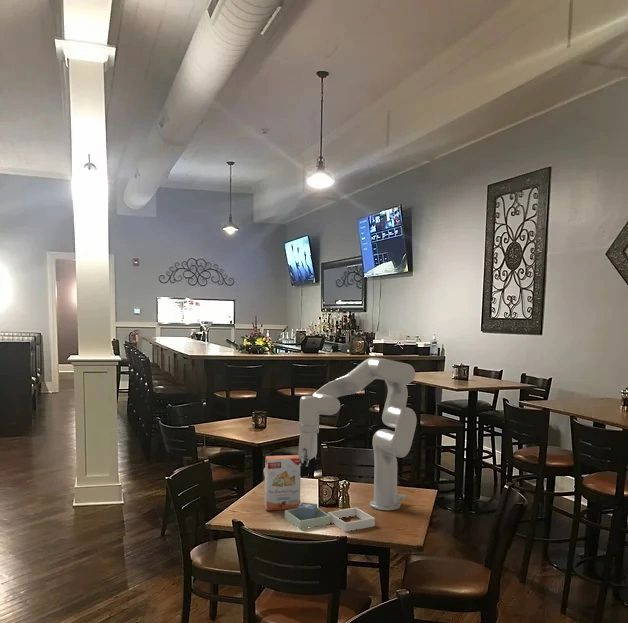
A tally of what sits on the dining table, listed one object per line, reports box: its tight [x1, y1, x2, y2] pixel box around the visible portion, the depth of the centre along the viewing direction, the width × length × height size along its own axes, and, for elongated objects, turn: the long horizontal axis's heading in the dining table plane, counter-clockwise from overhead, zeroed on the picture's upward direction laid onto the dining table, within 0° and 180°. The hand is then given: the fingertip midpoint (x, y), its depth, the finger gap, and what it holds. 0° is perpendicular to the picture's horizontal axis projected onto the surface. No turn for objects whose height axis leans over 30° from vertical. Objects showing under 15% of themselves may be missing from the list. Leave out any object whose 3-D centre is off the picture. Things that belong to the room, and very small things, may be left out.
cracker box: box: [263, 454, 302, 512], centre depth 226 cm, size 14×6×21 cm, turn 105°
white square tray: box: [327, 507, 376, 533], centre depth 210 cm, size 13×13×3 cm
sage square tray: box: [284, 507, 332, 530], centre depth 211 cm, size 13×13×3 cm
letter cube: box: [297, 501, 318, 521], centre depth 211 cm, size 6×6×6 cm
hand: (308, 473), depth 212 cm, fingers open, 9 cm apart
